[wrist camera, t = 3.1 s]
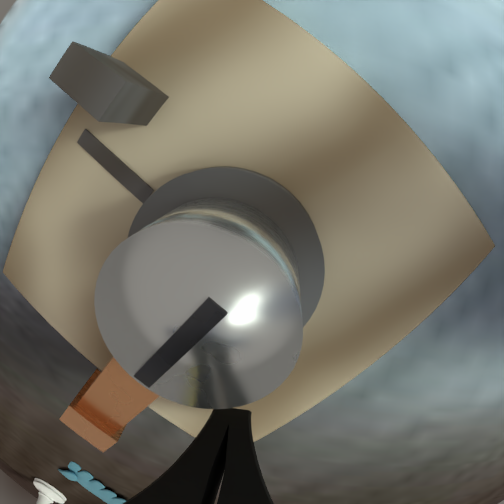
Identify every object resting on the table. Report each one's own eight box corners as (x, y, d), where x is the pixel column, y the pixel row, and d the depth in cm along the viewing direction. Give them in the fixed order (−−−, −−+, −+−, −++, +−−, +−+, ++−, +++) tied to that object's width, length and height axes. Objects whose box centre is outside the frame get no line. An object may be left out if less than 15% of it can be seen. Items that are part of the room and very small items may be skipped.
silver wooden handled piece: (206, 162, 8) (165, 171, 5) (332, 276, 9) (350, 334, 6) (64, 364, 12) (27, 406, 9) (147, 429, 12) (124, 479, 9)
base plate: (480, 237, 11) (541, 275, 7) (230, 439, 15) (218, 500, 11) (204, -23, 8) (170, -81, 4) (17, 263, 13) (-38, 296, 9)
